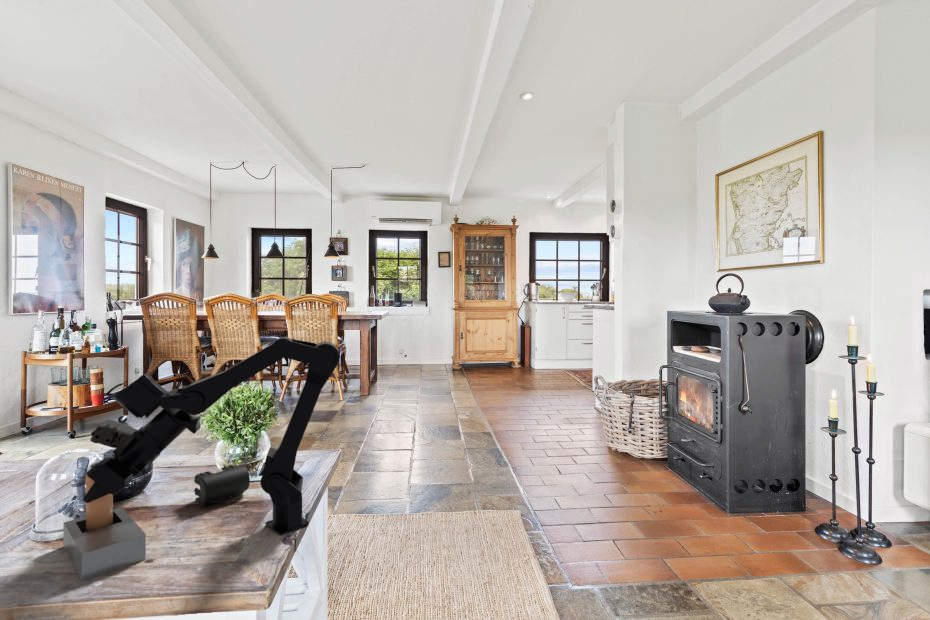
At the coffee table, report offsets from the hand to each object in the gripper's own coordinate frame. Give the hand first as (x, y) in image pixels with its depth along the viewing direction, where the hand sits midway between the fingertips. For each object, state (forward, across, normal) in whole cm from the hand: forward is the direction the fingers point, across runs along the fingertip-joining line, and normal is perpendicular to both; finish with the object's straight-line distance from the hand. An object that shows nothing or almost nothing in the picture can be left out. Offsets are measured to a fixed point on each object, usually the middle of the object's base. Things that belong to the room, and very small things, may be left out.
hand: (91, 496), depth 87 cm
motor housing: (+5, +3, +9) cm, 10 cm away
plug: (+4, 0, +6) cm, 7 cm away
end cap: (-6, -17, +20) cm, 27 cm away
